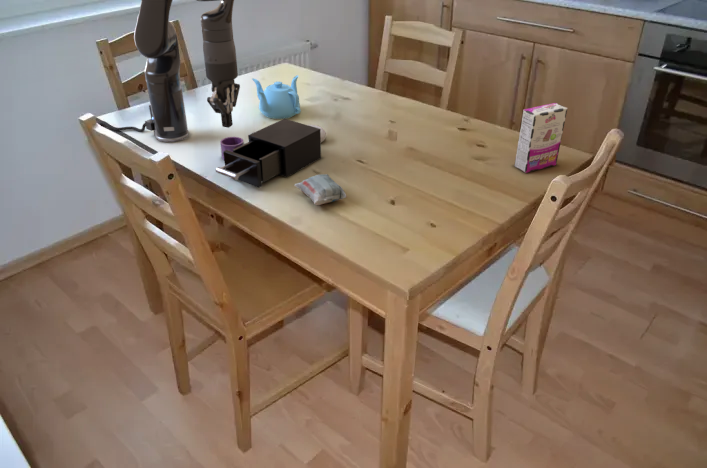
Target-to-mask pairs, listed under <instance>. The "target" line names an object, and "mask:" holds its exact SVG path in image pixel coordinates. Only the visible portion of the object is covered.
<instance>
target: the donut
mask: <svg viewBox="0 0 707 468" xmlns="http://www.w3.org/2000/svg"><path fill="white" fill-rule="evenodd" d="M307 125H308V126H312V127H315V128H319V129H320V133H321V143H323V142H324V141H325V140H326V137H327V132H326V130H325V129H324V127H322V126H319V125H316V124H307Z"/></svg>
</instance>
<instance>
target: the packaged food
mask: <svg viewBox="0 0 707 468" xmlns="http://www.w3.org/2000/svg"><path fill="white" fill-rule="evenodd" d="M293 186H294V187H296V188H297V189H299V190H300V191H301V192H302V193H304V195H306V196H307V197H308V198H310V200H311V201H312V202H313V205H314V206H320V205H323V204H329V203H332V202H338V201H340V200H343V199H346V198H347V197H348V196H347V194H346V192H345V190H344V189H343V187H342V186H341V185H339V183H337V182H336V181H335V180H334V179H332V178H331V177H330V175H329V174H327V173H322V174H321V173H319V174H316V175H312V176H310V177H307V178H306V179H303V180H302V181H300V182H297V183H294V184H293Z"/></svg>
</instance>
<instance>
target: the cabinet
mask: <svg viewBox="0 0 707 468" xmlns="http://www.w3.org/2000/svg"><path fill="white" fill-rule="evenodd" d="M308 125H309V124H305V123H301V122H298V121H295V120H291V119H289V118H285V119H279V120H277V121H276V122H274V123H272V124H269V125H268V126H265V127H262V128H261V129H259V130H256V131H254V132H252V133H250V134H248V136H247V137H248V138H247V139H248V142H250V141H252V140H257V141H260V142H263V143H266V144H269V145H272V146H275V147H278V148H281V149H283V162H284V171H283V172H281V173H280V174H278V175H277V176H282V177H284V178H288V177H290V176H292V175H293V174H296V173H297V172H299V171H301V170H302V169H305V168H306V167H308V166H309V165H311V164H313V163H315V162H317V161H318V160H320V159H321V158H322V145H321V144H322V142H321V133H320V129H319V128H315V127H312V126H308Z"/></svg>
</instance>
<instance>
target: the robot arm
mask: <svg viewBox="0 0 707 468" xmlns="http://www.w3.org/2000/svg"><path fill="white" fill-rule="evenodd" d="M173 1H174V0H140V6H139V11H138V12H139V13H138V15H137V20H136V25H135V28H134V35H133V39H134V44H135V47H136V49H137V51H138V52H139V53H140V54H141V55H142V56H143V57H145V58H146V63H145V68H144V77H145V82H146V88H147V92H148V98H149V104H148V109H149V114H150V119H147V120H144V122H143V124H142V127H141V128H138V127H136V126H122V127H118V126H117V127H116V126H112V125H111V124H110V123H108V122H106V121H104V120H102V121H100V122H99V123H98V124H100V125H101V126H102V125H104V126H106V127H107V128H109V129H111V130H113V131H119V132H120V131H129V130H131V131H132V130H133V131H136V132H138V133H143V132H144V131H145V130H148V131H151V132H153V136H154V137H155V139H156V140H157V141H158V142H159V141H160V142H163V143H175V142H180V141H183V140H185V139H187V138H188V137H189V136H190V132H189V128H188V120H187V114H186V113H187V112H186V107H185V100H184V94H183V87H182V80H181V74H180V70H181V57H180V47H179V39H178V35H177V30H176V29H175V26H174V25H173V23H172V22H171V21H169V19H170V11H171V8H172V3H173ZM196 1H197V2H199V3H200V2H201V3H203V2H219V1H220V2H219V4H218V5H217V7H216V8H214V9H212V10H207V11H205V12H203V13H202V14H201V16H200V28H201V34H202V49H203V50H202V52H203V58H204V59H203V60H204V68H205V69H204V70H205V77H206V78H207V79H208V80H209V81H210V82H211V89H210V90H211V93H212V94H211V95H210V96H207V98H206V101H207V103H208V105H209V106H210V108H212V110H213V112H214V113H216V114H220V118H221V126H222V127H223V128H228V129H229V128H231V127H232V126H233V125H234V123H233V114H232V112H233V111H234V108H236V106H237V102H238V98H239V93H240V88H241V85H240V83H236V81H235V79H237V78H238V77H239V72H238V62H237V61H238V60H237V51H236V44H235V39H234V30H233V11H234V3H235V0H196Z"/></svg>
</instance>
